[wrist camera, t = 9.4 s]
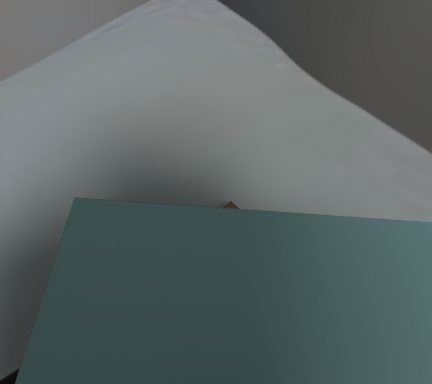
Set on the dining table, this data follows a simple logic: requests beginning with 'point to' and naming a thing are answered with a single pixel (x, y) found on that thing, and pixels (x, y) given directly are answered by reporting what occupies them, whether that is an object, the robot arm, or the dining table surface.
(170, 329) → the teal block
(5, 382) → the robot arm
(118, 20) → the dining table surface
